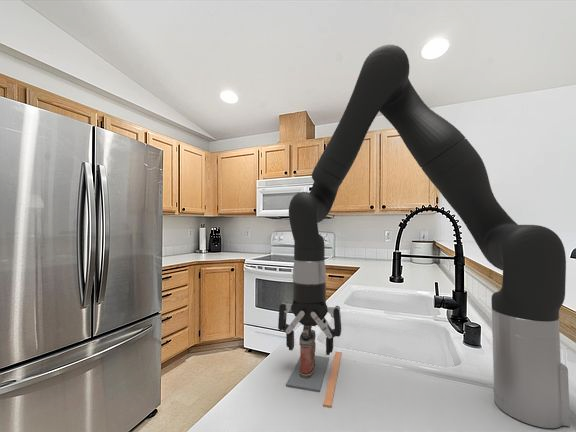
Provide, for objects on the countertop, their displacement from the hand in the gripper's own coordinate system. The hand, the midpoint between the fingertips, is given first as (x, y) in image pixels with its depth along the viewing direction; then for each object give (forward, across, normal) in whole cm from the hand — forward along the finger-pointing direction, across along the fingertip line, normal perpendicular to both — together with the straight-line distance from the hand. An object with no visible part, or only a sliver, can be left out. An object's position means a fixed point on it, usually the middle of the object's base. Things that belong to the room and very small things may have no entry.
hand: (309, 351), depth 62 cm
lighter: (+4, 0, 0) cm, 4 cm away
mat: (+4, 0, 0) cm, 4 cm away
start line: (+4, -6, 0) cm, 7 cm away
